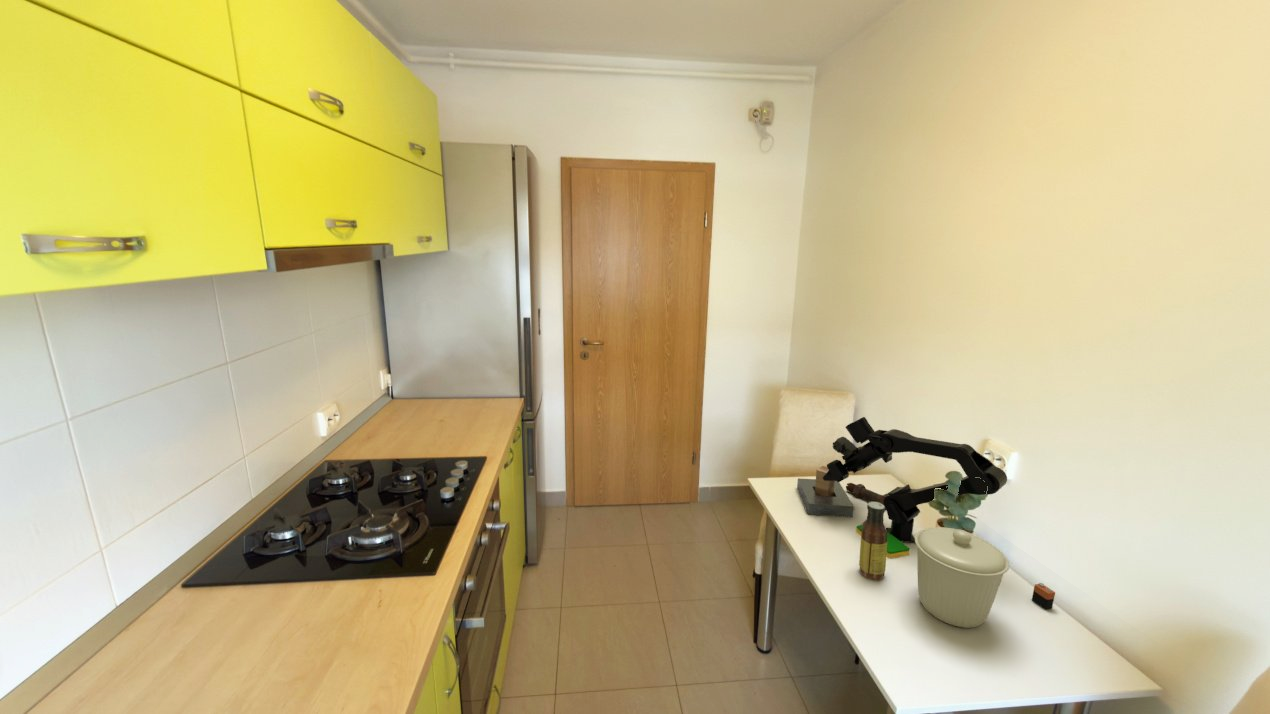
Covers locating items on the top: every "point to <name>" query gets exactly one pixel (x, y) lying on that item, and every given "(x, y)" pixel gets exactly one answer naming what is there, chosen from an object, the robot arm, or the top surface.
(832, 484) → the walnut block
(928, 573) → the canister
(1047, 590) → the battery
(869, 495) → the bolt
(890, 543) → the dish sponge
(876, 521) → the sauce bottle
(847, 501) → the hole plate
